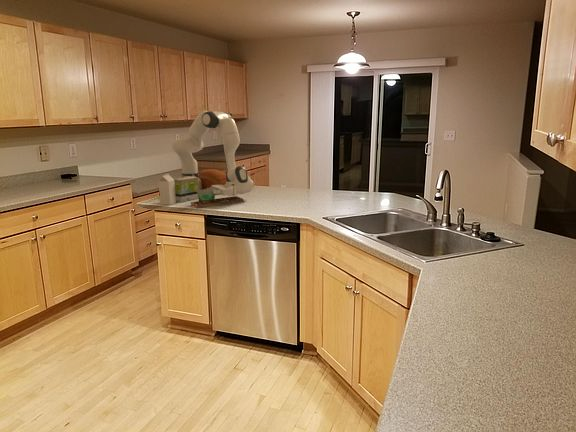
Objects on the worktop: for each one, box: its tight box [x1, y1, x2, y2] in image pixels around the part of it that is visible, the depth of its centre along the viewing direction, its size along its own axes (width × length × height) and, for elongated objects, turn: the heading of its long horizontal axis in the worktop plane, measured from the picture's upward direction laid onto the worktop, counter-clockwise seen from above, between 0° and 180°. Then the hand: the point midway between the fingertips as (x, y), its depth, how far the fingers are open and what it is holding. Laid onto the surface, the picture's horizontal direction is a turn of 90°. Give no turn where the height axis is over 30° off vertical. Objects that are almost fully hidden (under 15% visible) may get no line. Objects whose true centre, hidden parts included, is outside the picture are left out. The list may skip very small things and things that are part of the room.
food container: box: [196, 188, 216, 204], centre depth 267 cm, size 12×6×10 cm, turn 107°
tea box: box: [172, 176, 199, 203], centre depth 283 cm, size 15×10×15 cm
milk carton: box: [158, 173, 177, 206], centre depth 270 cm, size 7×7×19 cm
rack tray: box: [190, 195, 244, 209], centre depth 271 cm, size 11×31×2 cm, turn 123°
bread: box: [198, 168, 228, 189], centre depth 314 cm, size 14×33×16 cm, turn 41°
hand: (210, 191), depth 267 cm, fingers open, 8 cm apart
